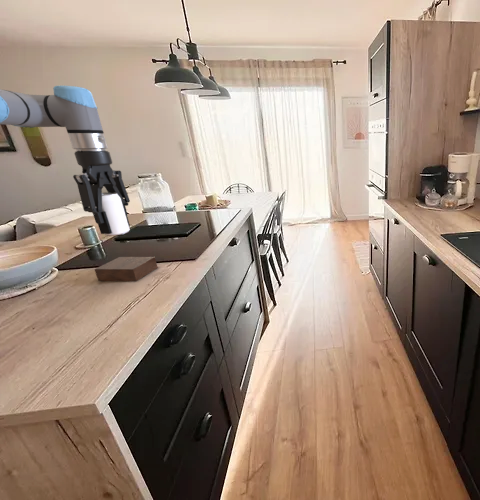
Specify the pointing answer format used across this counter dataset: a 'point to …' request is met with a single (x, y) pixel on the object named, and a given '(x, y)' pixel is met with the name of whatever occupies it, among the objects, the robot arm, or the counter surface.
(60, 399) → the counter surface
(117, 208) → the can
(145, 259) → the walnut block
